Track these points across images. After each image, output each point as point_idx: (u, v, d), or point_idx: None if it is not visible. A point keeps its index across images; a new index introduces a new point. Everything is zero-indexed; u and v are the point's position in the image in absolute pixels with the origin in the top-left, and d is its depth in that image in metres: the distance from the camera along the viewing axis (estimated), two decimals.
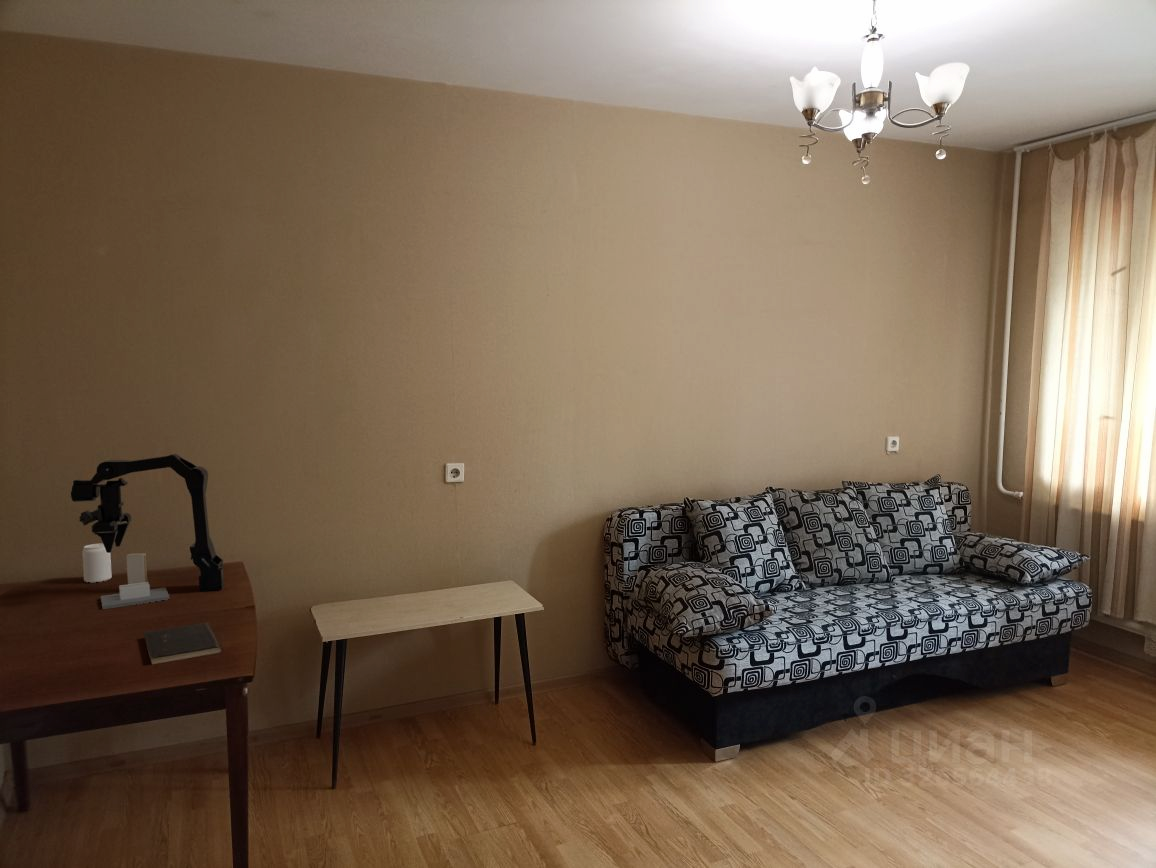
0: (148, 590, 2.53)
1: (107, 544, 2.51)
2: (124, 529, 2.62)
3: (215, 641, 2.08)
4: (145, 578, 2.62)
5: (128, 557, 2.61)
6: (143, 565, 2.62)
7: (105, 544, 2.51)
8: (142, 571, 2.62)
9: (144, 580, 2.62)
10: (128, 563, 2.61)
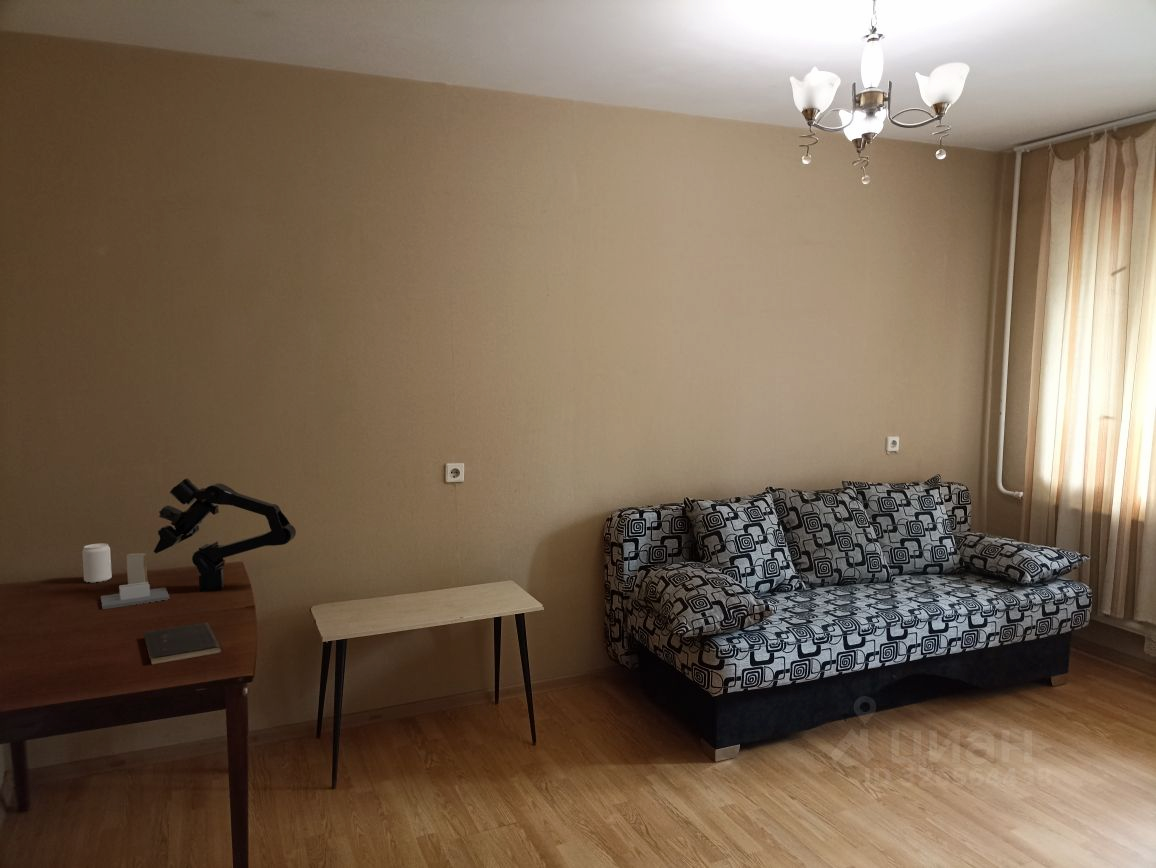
0: (148, 590, 2.53)
1: (159, 547, 2.57)
2: (183, 538, 2.68)
3: (215, 641, 2.08)
4: (145, 578, 2.62)
5: (128, 557, 2.61)
6: (143, 565, 2.62)
7: (158, 546, 2.57)
8: (142, 571, 2.62)
9: (144, 580, 2.62)
10: (128, 563, 2.61)
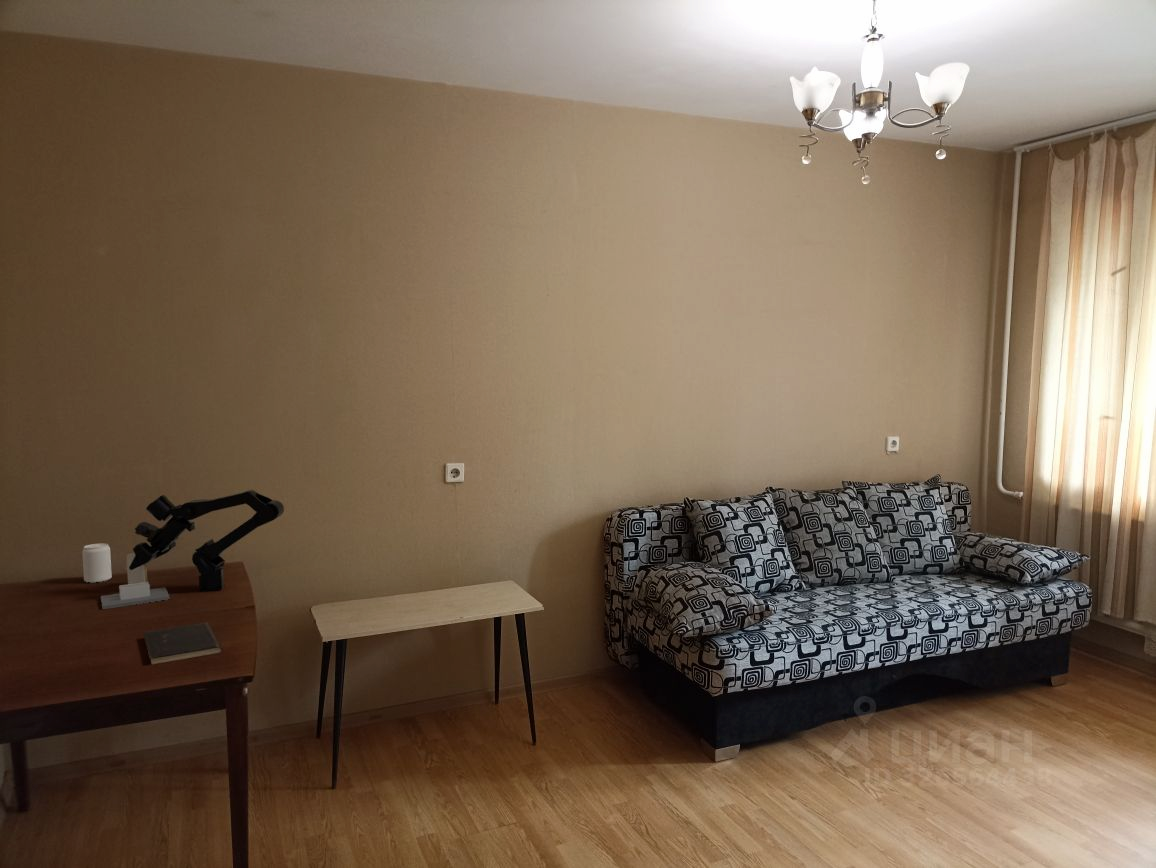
0: (148, 590, 2.53)
1: (134, 563, 2.57)
2: (160, 554, 2.67)
3: (215, 641, 2.08)
4: (145, 578, 2.62)
5: (128, 557, 2.61)
6: (143, 565, 2.62)
7: (133, 562, 2.57)
8: (142, 571, 2.62)
9: (144, 580, 2.62)
10: (128, 563, 2.61)
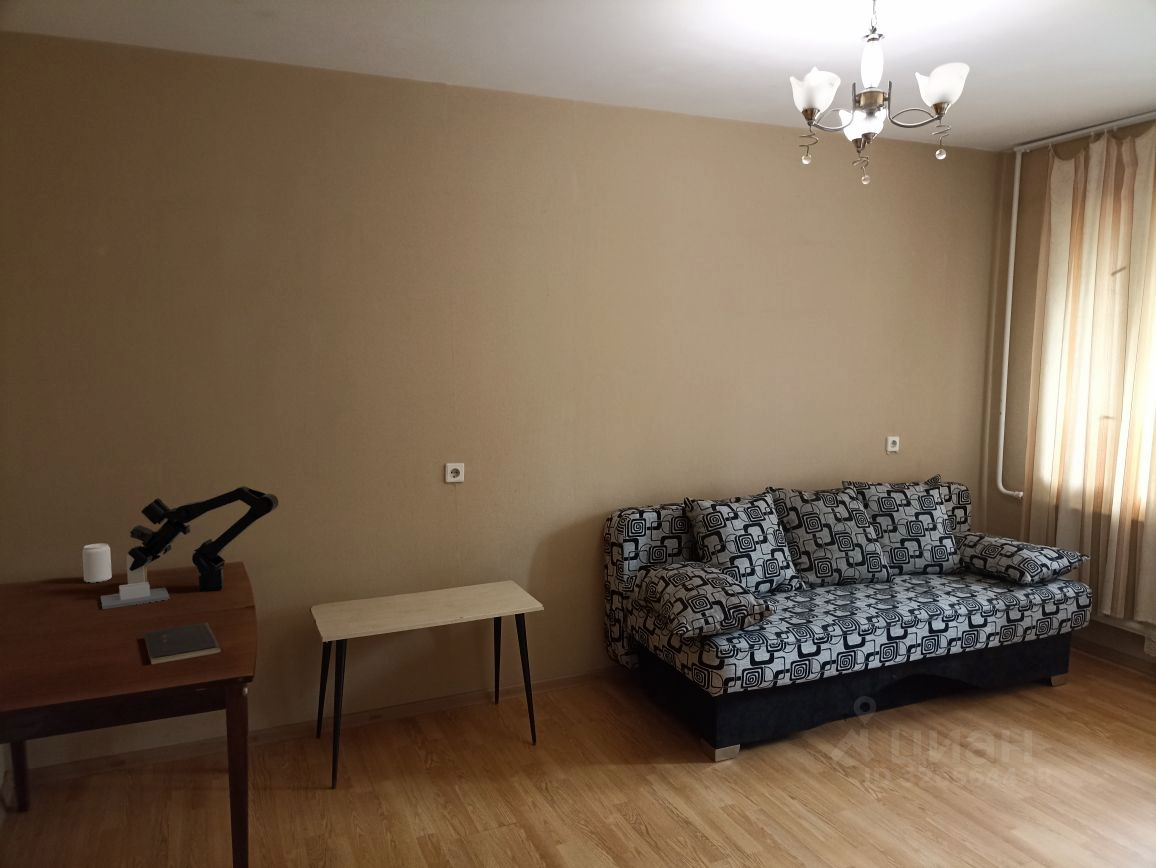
0: (148, 590, 2.53)
1: (135, 564, 2.60)
2: (151, 560, 2.64)
3: (215, 641, 2.08)
4: (145, 578, 2.62)
5: (128, 557, 2.61)
6: None
7: (133, 563, 2.60)
8: (142, 571, 2.62)
9: (144, 580, 2.62)
10: (128, 563, 2.61)
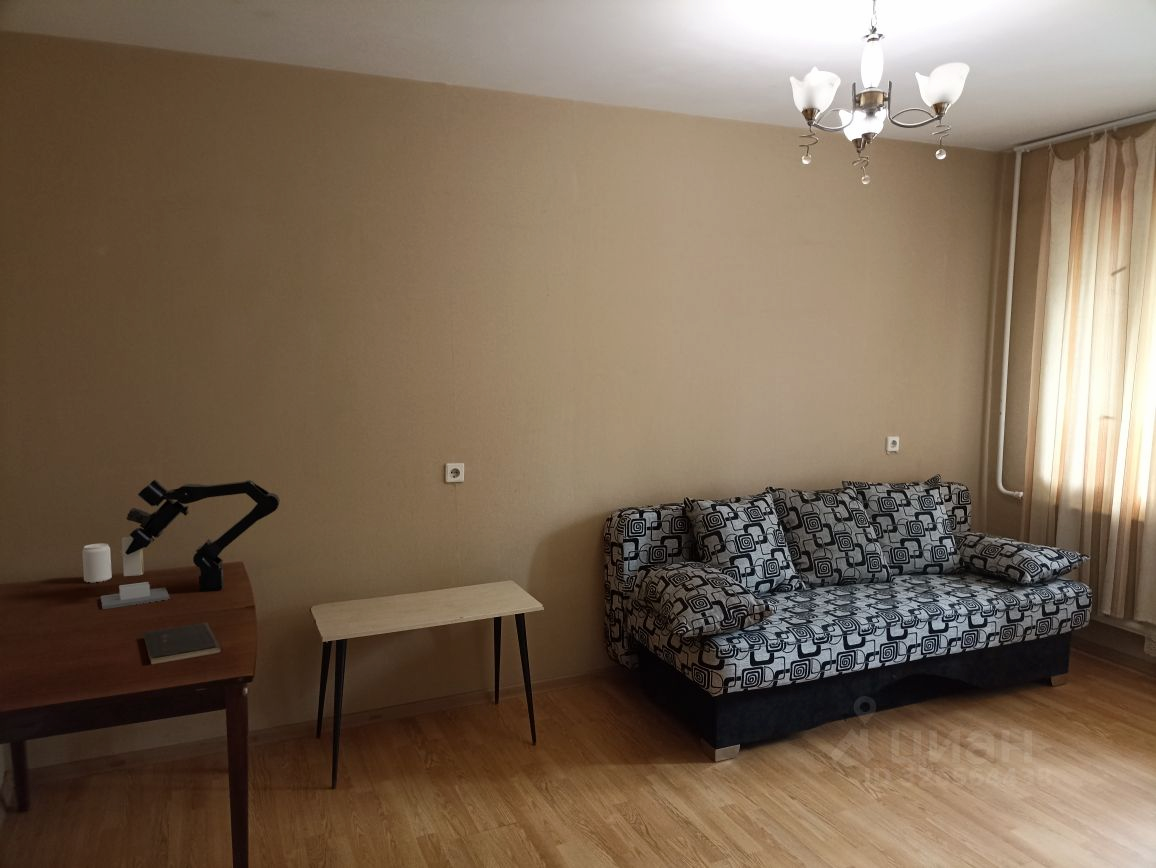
0: (148, 590, 2.53)
1: (132, 548, 2.55)
2: None
3: (215, 641, 2.08)
4: (142, 561, 2.58)
5: (123, 540, 2.56)
6: None
7: (130, 547, 2.55)
8: (139, 554, 2.57)
9: (141, 563, 2.58)
10: (123, 547, 2.56)
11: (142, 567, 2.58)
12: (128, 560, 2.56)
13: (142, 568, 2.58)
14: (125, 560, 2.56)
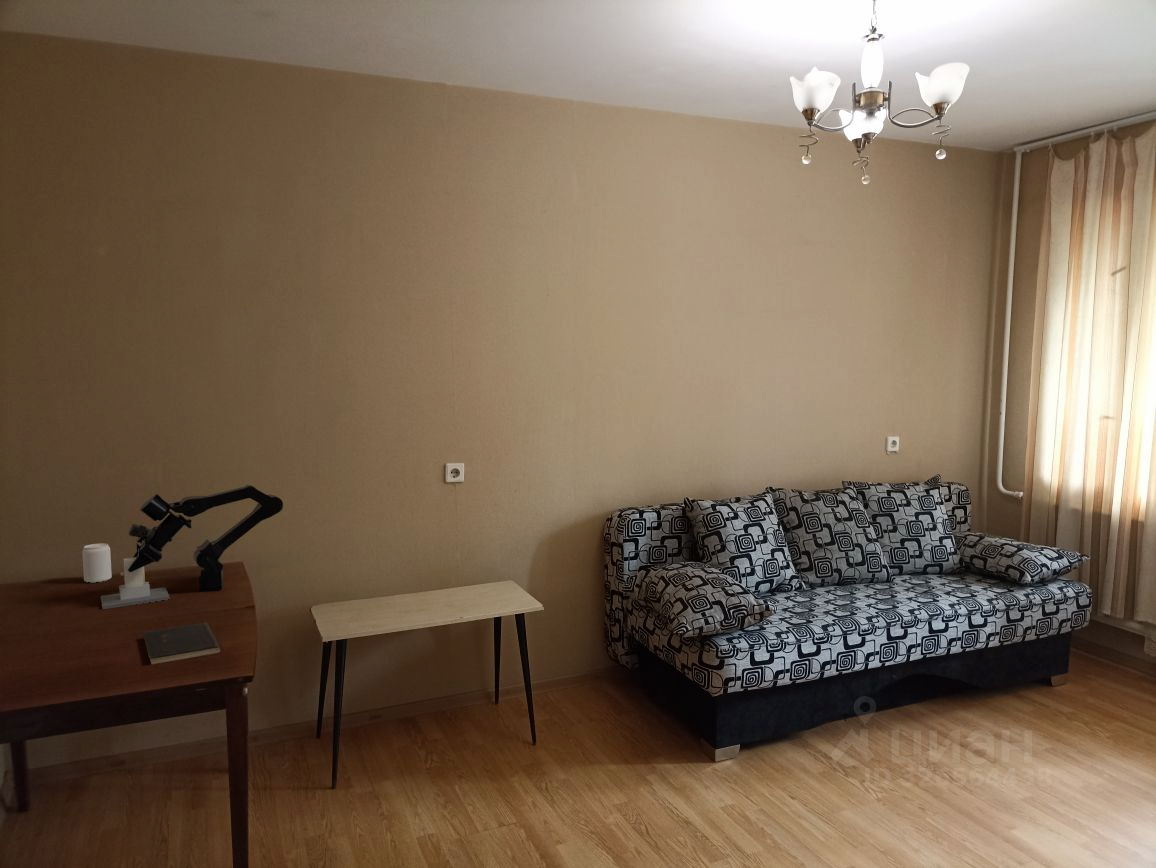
0: (148, 590, 2.53)
1: (136, 565, 2.49)
2: None
3: (214, 641, 2.08)
4: (144, 582, 2.53)
5: (126, 562, 2.50)
6: (142, 569, 2.53)
7: (134, 564, 2.49)
8: (142, 575, 2.52)
9: (143, 584, 2.53)
10: (126, 568, 2.50)
11: None
12: (130, 581, 2.51)
13: None
14: (127, 582, 2.50)
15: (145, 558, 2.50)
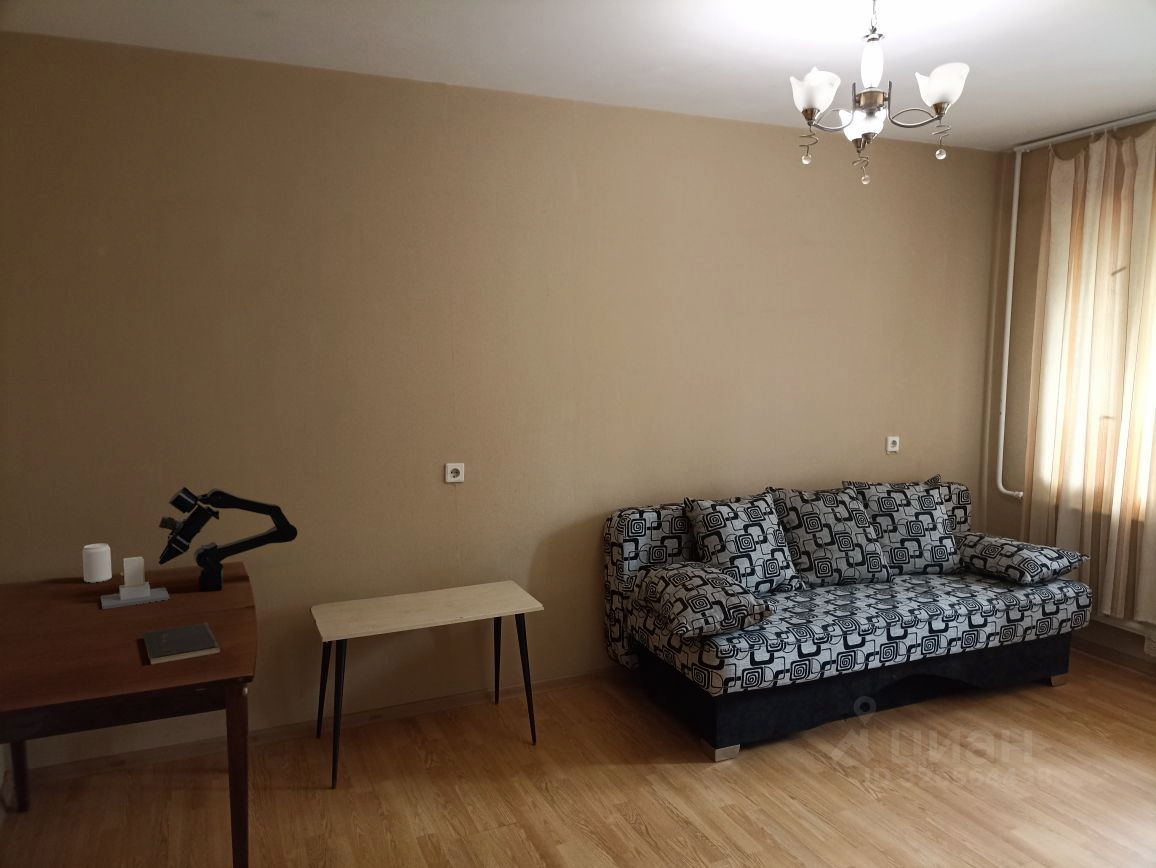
0: (148, 590, 2.53)
1: (166, 557, 2.52)
2: None
3: (214, 641, 2.08)
4: (144, 582, 2.53)
5: (126, 562, 2.50)
6: (142, 569, 2.53)
7: (164, 556, 2.52)
8: (141, 575, 2.52)
9: (143, 584, 2.53)
10: (126, 568, 2.50)
11: None
12: (130, 581, 2.51)
13: None
14: (127, 582, 2.50)
15: (175, 550, 2.53)
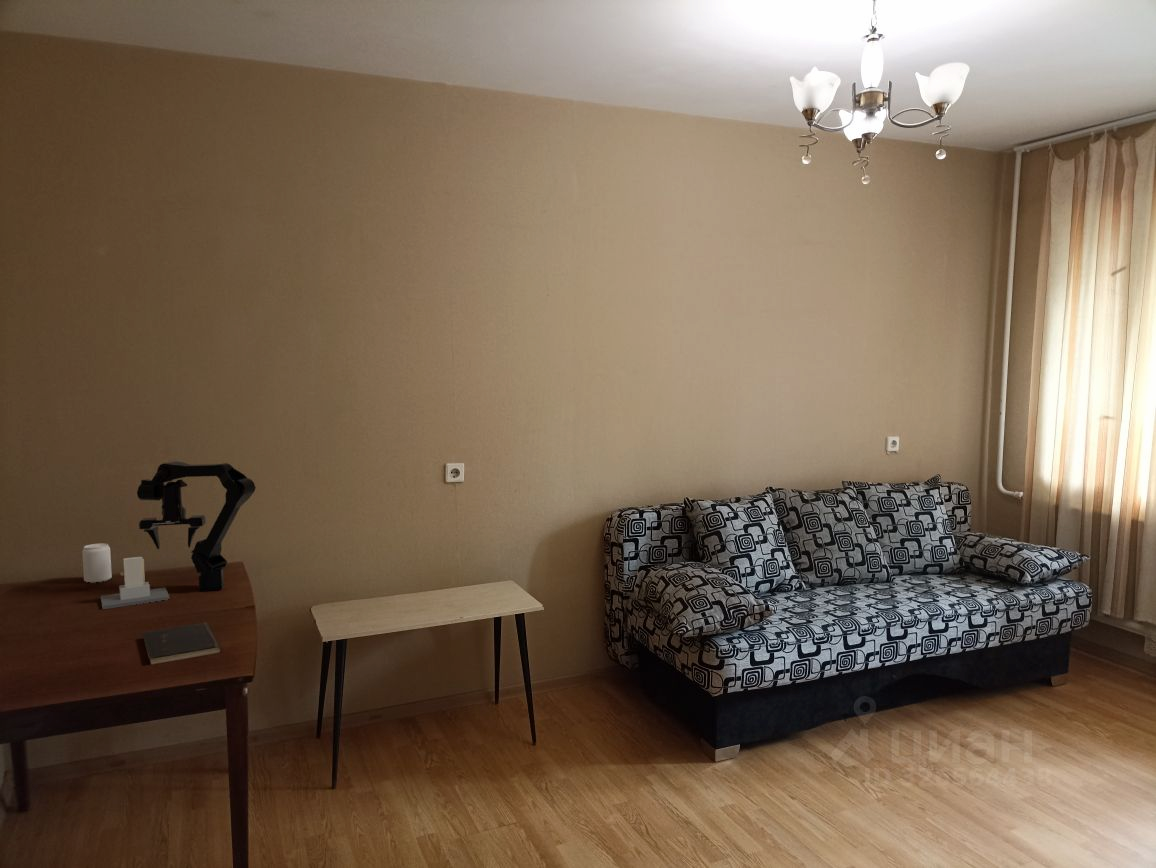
0: (148, 590, 2.53)
1: None
2: (188, 532, 2.64)
3: (214, 641, 2.08)
4: (144, 582, 2.53)
5: (126, 562, 2.50)
6: (142, 569, 2.53)
7: None
8: (141, 575, 2.52)
9: (143, 584, 2.53)
10: (126, 568, 2.50)
11: None
12: (130, 581, 2.51)
13: None
14: (127, 582, 2.50)
15: None
